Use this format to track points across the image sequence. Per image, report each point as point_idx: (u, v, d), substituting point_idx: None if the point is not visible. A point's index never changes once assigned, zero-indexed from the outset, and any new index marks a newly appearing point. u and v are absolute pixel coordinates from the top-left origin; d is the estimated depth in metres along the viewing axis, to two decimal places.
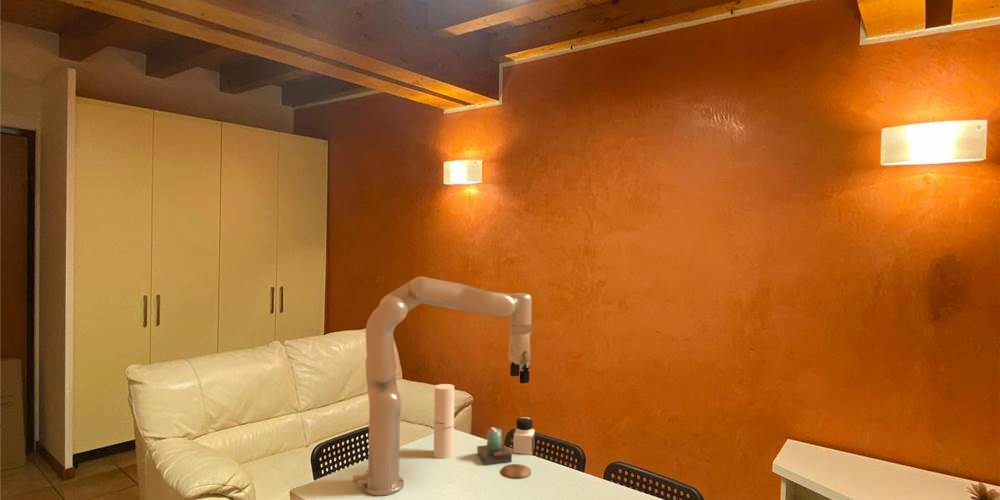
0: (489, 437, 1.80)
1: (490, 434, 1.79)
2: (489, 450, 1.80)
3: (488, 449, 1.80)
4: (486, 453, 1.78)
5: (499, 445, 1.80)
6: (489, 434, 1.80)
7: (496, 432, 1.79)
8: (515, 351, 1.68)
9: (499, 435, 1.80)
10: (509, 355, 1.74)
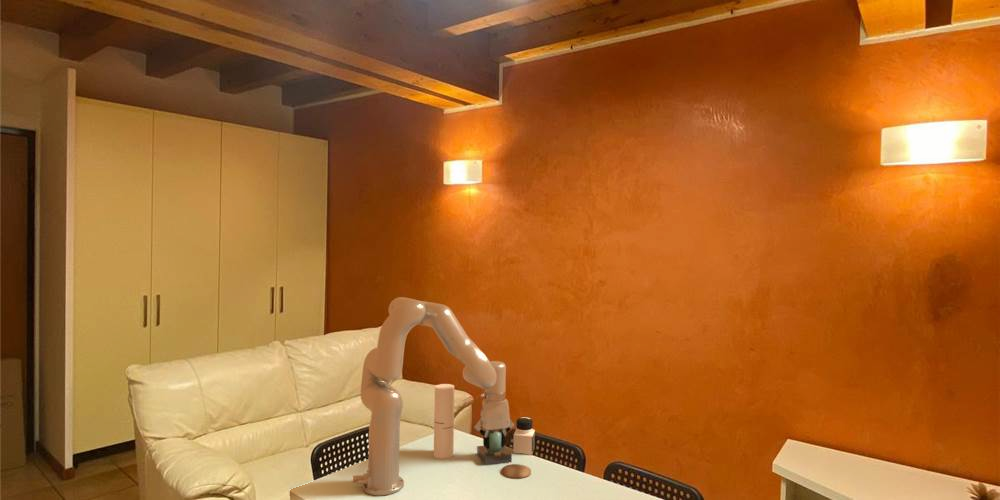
0: (489, 437, 1.80)
1: (490, 434, 1.79)
2: (489, 450, 1.80)
3: (488, 449, 1.80)
4: (486, 453, 1.78)
5: (499, 445, 1.80)
6: (489, 434, 1.80)
7: (496, 432, 1.79)
8: (505, 416, 1.80)
9: (499, 435, 1.80)
10: (488, 425, 1.78)
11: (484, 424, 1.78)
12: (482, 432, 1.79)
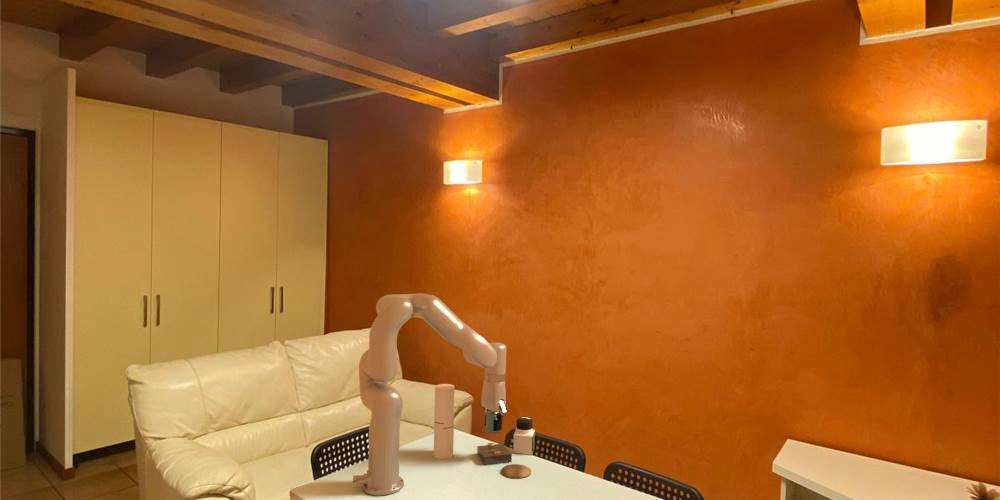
0: None
1: None
2: None
3: None
4: (486, 453, 1.78)
5: (490, 427, 1.79)
6: None
7: (488, 412, 1.80)
8: (492, 399, 1.77)
9: (490, 416, 1.79)
10: (483, 402, 1.82)
11: (481, 399, 1.84)
12: (485, 408, 1.85)
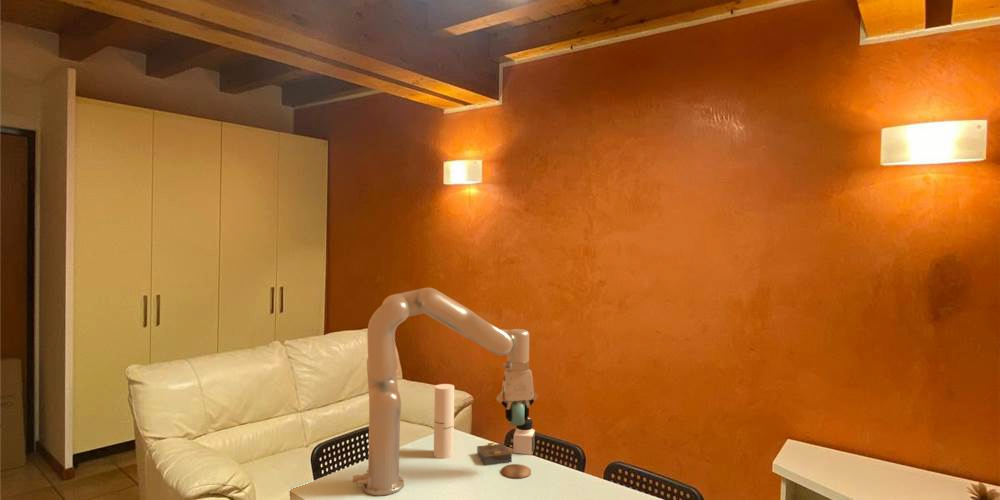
0: (512, 409, 1.69)
1: (513, 405, 1.68)
2: (512, 423, 1.69)
3: (511, 422, 1.69)
4: (486, 453, 1.78)
5: (523, 418, 1.69)
6: (512, 406, 1.69)
7: (519, 403, 1.68)
8: (529, 387, 1.69)
9: (522, 407, 1.69)
10: (511, 396, 1.67)
11: (507, 395, 1.67)
12: (504, 404, 1.68)
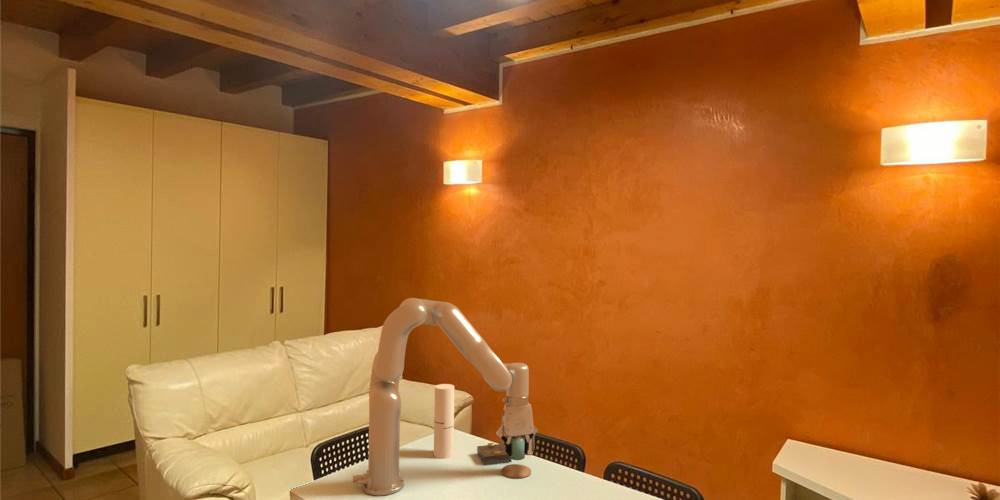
0: (512, 443, 1.69)
1: (513, 440, 1.68)
2: (512, 457, 1.68)
3: (511, 456, 1.69)
4: (486, 453, 1.78)
5: (523, 452, 1.69)
6: (512, 440, 1.69)
7: (519, 438, 1.68)
8: (528, 422, 1.69)
9: (522, 441, 1.69)
10: (511, 431, 1.67)
11: (506, 430, 1.67)
12: (504, 439, 1.68)
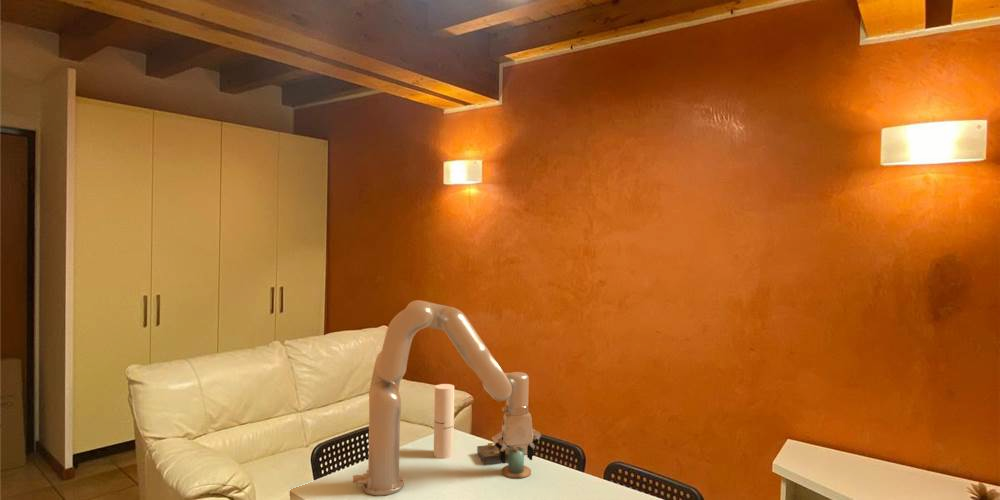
0: (511, 457, 1.68)
1: (512, 454, 1.68)
2: (511, 471, 1.68)
3: (510, 470, 1.69)
4: (486, 453, 1.78)
5: (522, 466, 1.69)
6: (511, 454, 1.68)
7: (518, 451, 1.68)
8: (528, 431, 1.69)
9: (521, 455, 1.69)
10: (511, 441, 1.67)
11: (506, 440, 1.67)
12: (498, 445, 1.68)
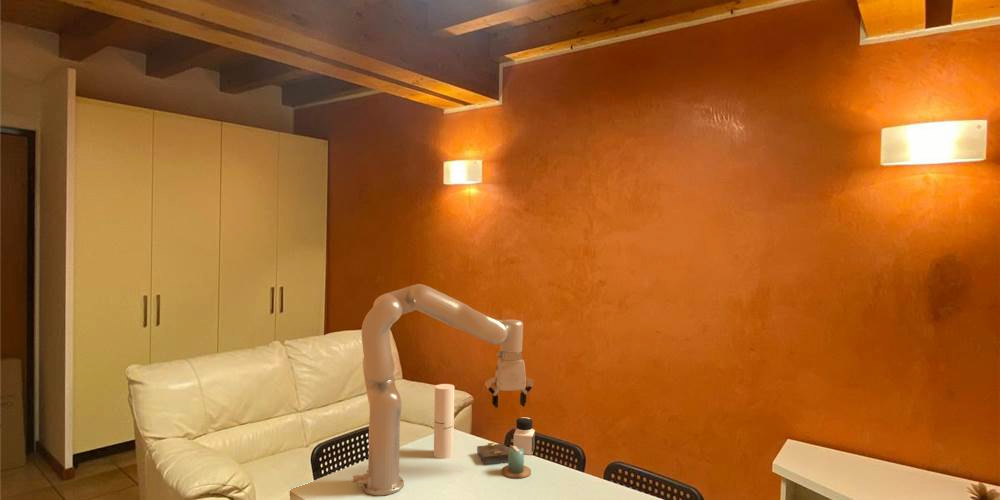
0: (511, 457, 1.68)
1: (512, 454, 1.68)
2: (511, 471, 1.68)
3: (510, 470, 1.69)
4: (486, 453, 1.78)
5: (522, 466, 1.69)
6: (511, 454, 1.68)
7: (518, 451, 1.68)
8: (521, 377, 1.70)
9: (521, 455, 1.69)
10: (504, 385, 1.69)
11: (499, 384, 1.68)
12: (491, 390, 1.69)
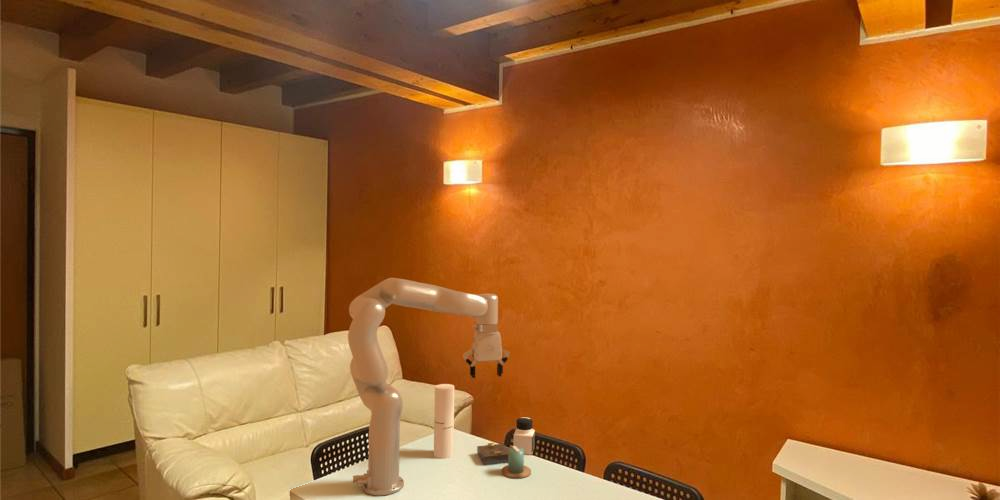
0: (511, 457, 1.68)
1: (512, 454, 1.68)
2: (511, 471, 1.68)
3: (510, 470, 1.69)
4: (486, 453, 1.78)
5: (522, 466, 1.69)
6: (511, 454, 1.68)
7: (518, 451, 1.68)
8: (497, 348, 1.77)
9: (521, 455, 1.69)
10: (480, 356, 1.75)
11: (476, 355, 1.75)
12: (468, 361, 1.76)
